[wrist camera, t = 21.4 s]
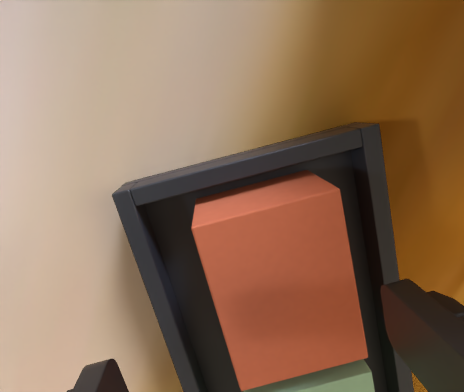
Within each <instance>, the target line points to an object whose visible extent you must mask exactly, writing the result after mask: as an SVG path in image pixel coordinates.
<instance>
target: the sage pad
mask: <svg viewBox="0 0 464 392" xmlns="http://www.w3.org/2000/svg"><path fill="white" fill-rule="evenodd" d="M244 392H375V389H374V383H373V377H372V372H371V370H370V369H369V367H368V365H367V364H366V362H365V361H364V359H361V360H358V361H354V362H350V363H346V364H343V365H339V366H335V367H331V368H327V369H324V370H320V371H316V372H312V373H309V374H305V375H301V376H297V377H293V378H290V379H286V380H282V381H278V382H275V383H271V384H267V385H263V386H259V387H256V388H252V389H248V390H244Z"/></svg>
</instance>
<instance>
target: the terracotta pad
mask: <svg viewBox="0 0 464 392" xmlns="http://www.w3.org/2000/svg"><path fill="white" fill-rule="evenodd" d="M191 230H192V233H193V236H194V240H195V243H196V246H197V249H198V253H199V256H200V259H201V263H202V266H203V269H204V272H205V276H206V279H207V282H208V285H209V289H210V292H211V295H212V298H213V302H214V305H215V308H216V312H217V315H218V318H219V321H220V325H221V328H222V331H223V334H224V338H225V341H226V344H227V348H228V351H229V354H230V357H231V361H232V364H233V367H234V370H235V374H236V377H237V380H238V383H239V387H240V389H241V391H244V390H248V389H252V388H256V387H259V386H263V385H267V384H271V383H275V382H278V381H282V380H286V379H290V378H293V377H297V376H301V375H305V374H309V373H312V372H316V371H320V370H324V369H327V368H331V367H335V366H339V365H343V364H346V363H350V362H354V361H358V360H361V359H365V358H368V352H367V346H366V340H365V334H364V328H363V323H362V317H361V311H360V305H359V299H358V293H357V287H356V281H355V275H354V270H353V264H352V258H351V252H350V246H349V240H348V234H347V228H346V222H345V216H344V211H343V205H342V199H341V193H340V189H339V188H337V187H336V186H334V185H332V184H331V183H329V182H327V181H325V180H324V179H322V178H320V177H319V176H317V175H315V174H313V173H312V172H310V171H308V170H304V171H300V172H296V173H293V174H289V175H285V176H281V177H277V178H274V179H270V180H266V181H262V182H258V183H255V184H251V185H247V186H243V187H239V188H236V189H232V190H228V191H224V192H220V193H217V194H213V195H209V196H205V197H201V198H198V199H196V202H195V208H194V214H193V221H192V227H191Z"/></svg>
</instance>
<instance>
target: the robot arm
mask: <svg viewBox="0 0 464 392" xmlns="http://www.w3.org/2000/svg"><path fill="white" fill-rule="evenodd" d="M380 292H381V299H382V306H383V313H384V320H385V327H386V332H387V335H388V338H389V340H390V342H391V344H392V346H393V348H394V350H395V351H396V352H397V354H398V355H399V356H400V357H401V359H402V360H403V361H404V362H405V364H406V365H407V366H408V367H409V368H410V370H411V371H412V372H413V373H414V375H415V376H416V377H417V378H418V379H419V381H420V382H421V383H422V384H423V386H424V387H425V388H426V389H427V390H428V392H464V306H463V305H462V304H460V303H459V302H458V301H456V300H455V299H453V298H450V297H448V296H445V295H443V294H440V293H438V292H435V291H431V292H425V291H424V290H423V289H421V288H420V287H419V286H418V285H416V284H415V283H414V282H413V281H411V280H410V279H404V280H400V281H396V282H393V283H389V284H385V285H382V286H381V289H380ZM67 392H129V391H128V389H127V386H126V384H125V381H124V379H123V376H122V374H121V372H120V369H119V367H118V364H117V362H116V361H115V360H114V359H109V360H105V361H101V362H98V363H94V364H90V365H87V366H85V367H84V368H83V370H82V372H81V374H80V376H79V378H78V380H77V382H76V384H75V386H74V388H73V389H71V390H68V391H67Z"/></svg>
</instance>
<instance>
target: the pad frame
mask: <svg viewBox="0 0 464 392" xmlns="http://www.w3.org/2000/svg"><path fill="white" fill-rule="evenodd" d="M304 170H308V171H310V172H312V173H313V174H315V175H317V176H319V177H320V178H322V179H324V180H325V181H327V182H329V183H331V184H332V185H334V186H336V187H337V188H339V189H340V193H341V199H342V205H343V211H344V216H345V222H346V228H347V234H348V240H349V246H350V252H351V258H352V264H353V270H354V275H355V281H356V287H357V293H358V299H359V305H360V311H361V317H362V323H363V328H364V334H365V340H366V346H367V352H368V358H365V359H364V361H365V362H366V364H367V365H368V367H369V369H370V370H371V372H372V377H373V383H374V389H375V392H414V389H413V381H412V373H411V370H410V368H409V367H408V366H407V365H406V364H405V362H404V361H403V360H402V359H401V357H400V356H399V355H398V354H397V352H396V351H395V350H394V348H393V346H392V344H391V342H390V340H389V338H388V335H387V332H386V327H385V320H384V313H383V306H382V299H381V292H380V289H381V286H382V285H385V284H389V283H393V282H396V281H399V273H398V265H397V258H396V250H395V242H394V235H393V227H392V219H391V211H390V204H389V196H388V188H387V181H386V173H385V165H384V157H383V150H382V142H381V134H380V127H379V124H374V123H357V122H354V123H351V124H347V125H343V126H339V127H335V128H332V129H328V130H324V131H320V132H316V133H313V134H309V135H305V136H301V137H297V138H294V139H290V140H286V141H282V142H278V143H275V144H271V145H267V146H263V147H259V148H256V149H252V150H248V151H244V152H240V153H237V154H233V155H229V156H225V157H221V158H218V159H214V160H210V161H206V162H202V163H199V164H195V165H191V166H187V167H183V168H180V169H176V170H172V171H168V172H165V173H161V174H157V175H153V176H149V177H146V178H142V179H138V180H134V181H130V182H127V183H125V184H124V185H122V186H121V187H120V188H119V189H118V190H117V191H115V192H114V193H113V194H112V197H113V200H114V202H115V205H116V208H117V211H118V213H119V216H120V219H121V222H122V224H123V227H124V230H125V232H126V235H127V238H128V241H129V243H130V246H131V249H132V252H133V254H134V257H135V260H136V263H137V265H138V268H139V271H140V274H141V276H142V279H143V282H144V285H145V287H146V290H147V293H148V295H149V298H150V301H151V304H152V306H153V309H154V312H155V315H156V317H157V320H158V323H159V326H160V328H161V331H162V334H163V337H164V339H165V342H166V345H167V347H168V350H169V353H170V356H171V358H172V361H173V364H174V367H175V369H176V372H177V375H178V378H179V380H180V383H181V386H182V389H183V391H184V392H244V391H241V389H240V387H239V383H238V380H237V377H236V374H235V370H234V367H233V364H232V361H231V357H230V354H229V351H228V348H227V344H226V341H225V338H224V334H223V331H222V328H221V325H220V321H219V318H218V315H217V312H216V308H215V305H214V302H213V298H212V295H211V292H210V289H209V285H208V282H207V279H206V276H205V272H204V269H203V266H202V263H201V259H200V256H199V253H198V249H197V246H196V243H195V240H194V236H193V233H192V230H191V227H192V221H193V214H194V208H195V202H196V199H198V198H201V197H205V196H209V195H213V194H217V193H220V192H224V191H228V190H232V189H236V188H239V187H243V186H247V185H251V184H255V183H258V182H262V181H266V180H270V179H274V178H277V177H281V176H285V175H289V174H293V173H296V172H300V171H304Z"/></svg>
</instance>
